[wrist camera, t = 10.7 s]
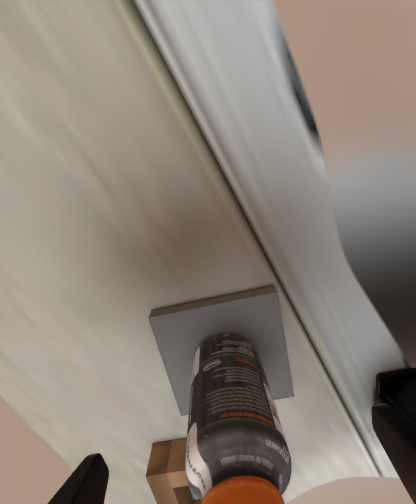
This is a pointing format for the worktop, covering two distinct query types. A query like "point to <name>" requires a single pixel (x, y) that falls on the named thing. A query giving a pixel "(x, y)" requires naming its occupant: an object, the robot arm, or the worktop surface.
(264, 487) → the pill bottle
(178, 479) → the bottle holder
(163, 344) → the rubber mat
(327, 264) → the worktop surface
